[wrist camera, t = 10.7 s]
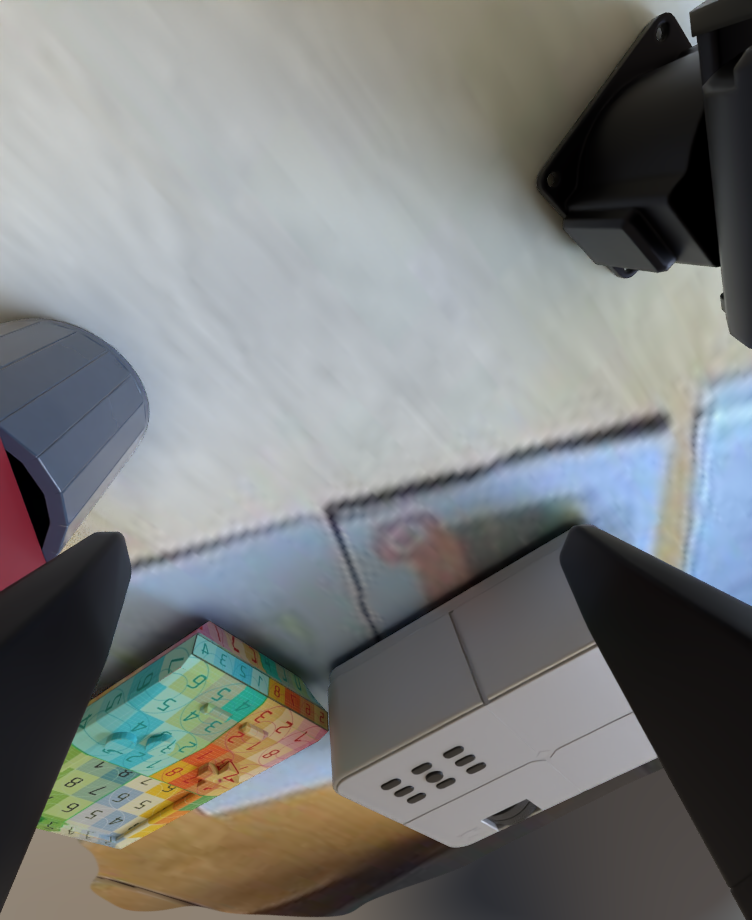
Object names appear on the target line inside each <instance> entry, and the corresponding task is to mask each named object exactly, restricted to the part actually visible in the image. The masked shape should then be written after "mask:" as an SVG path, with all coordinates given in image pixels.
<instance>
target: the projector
mask: <svg viewBox="0 0 752 920" xmlns="http://www.w3.org/2000/svg"><path fill="white" fill-rule="evenodd" d="M582 525H591V524H582ZM592 526H594V525H592ZM595 527H596V526H595ZM568 532H569V530H568V531H566V532H565V533H563V534H561V535H560V536H558V537H556V538H555V539H553V540H551V541H549V542H548V543H546V544H544V545H543V546H541V547H539V548H538V549H536V550H534V551H532V552H531V553H529V554H527V555H526V556H524V557H522V558H521V559H519V560H517V561H516V562H514V563H512V564H510V565H509V566H507V567H505V568H504V569H502V570H500V571H499V572H497V573H495V574H494V575H492V576H490V577H488V578H487V579H485V580H483V581H482V582H480V583H478V584H477V585H475V586H473V587H471V588H470V589H468V590H466V591H465V592H463V593H461V594H460V595H458V596H456V597H455V598H453V599H451V600H449V601H448V602H446V603H444V604H443V605H441V606H439V607H438V608H436V609H434V610H433V611H431V612H429V613H427V614H426V615H424V616H422V617H421V618H419V619H417V620H416V621H414V622H412V623H410V624H409V625H407V626H405V627H404V628H402V629H400V630H399V631H397V632H395V633H394V634H392V635H390V636H388V637H387V638H385V639H383V640H382V641H380V642H378V643H377V644H375V645H373V646H372V647H370V648H368V649H366V650H365V651H363V652H361V653H360V654H358V655H356V656H355V657H353V658H351V659H349V660H348V661H346V662H344V663H343V664H341V665H339V666H338V667H336V668H335V669H334V670H333V671H332V672H331V674H330V685H329V687H328V706H329V725H330V744H331V763H332V781H333V789H334V790H335V792H336V793H338V794H339V795H341V796H343V797H345V798H347V799H349V800H352V801H354V802H356V803H358V804H360V805H362V806H364V807H366V808H369V809H371V810H373V811H375V812H377V813H379V814H381V815H384V816H386V817H388V818H390V819H392V820H394V821H396V822H398V823H401V824H403V825H405V826H407V827H409V828H411V829H413V830H415V831H418V832H420V833H422V834H424V835H426V836H428V837H430V838H433V839H435V840H437V841H439V842H441V843H443V844H445V845H447V846H450V847H463V846H467V845H470V844H472V843H474V842H476V841H479V840H481V839H483V838H485V837H487V836H489V835H492V834H494V833H496V832H498V831H500V830H502V829H504V828H507V827H509V826H511V825H514V824H517V823H520V822H522V821H523V820H525V819H527V818H528V817H530V816H532V815H535V814H537V813H539V812H541V811H543V810H545V809H547V808H550V807H552V806H554V805H556V804H558V803H560V802H563V801H565V800H567V799H569V798H571V797H573V796H575V795H578V794H580V793H582V792H583V791H585V790H588V789H591V788H593V787H595V786H597V785H599V784H601V783H603V782H606V781H608V780H610V779H612V778H614V777H616V776H618V775H621V774H623V773H625V772H627V771H629V770H631V769H634V768H636V767H638V766H640V765H642V764H644V763H646V762H649V761H651V760H653V759H655V758H657V755H656V753H655V751H654V749H653V747H652V746H651V744H650V742H649V740H648V738H647V736H646V735H645V733H644V731H643V729H642V727H641V725H640V724H639V722H638V720H637V718H636V716H635V714H634V713H633V711H632V709H631V707H630V705H629V703H628V702H627V700H626V698H625V696H624V694H623V692H622V691H621V689H620V687H619V685H618V683H617V681H616V680H615V678H614V676H613V674H612V672H611V670H610V669H609V667H608V665H607V663H606V661H605V659H604V658H603V656H602V654H601V652H600V650H599V648H598V647H597V645H596V643H595V641H594V639H593V637H592V635H591V633H590V631H589V630H588V628H587V625H586V623H585V621H584V619H583V617H582V614H581V612H580V610H579V607H578V605H577V603H576V600H575V598H574V596H573V593H572V591H571V589H570V586H569V584H568V582H567V579H566V577H565V575H564V572H563V570H562V568H561V565H560V561H559V556H560V552H561V549H562V547H563V544H564V542H565V540H566V537H567V535H568Z"/></svg>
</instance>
